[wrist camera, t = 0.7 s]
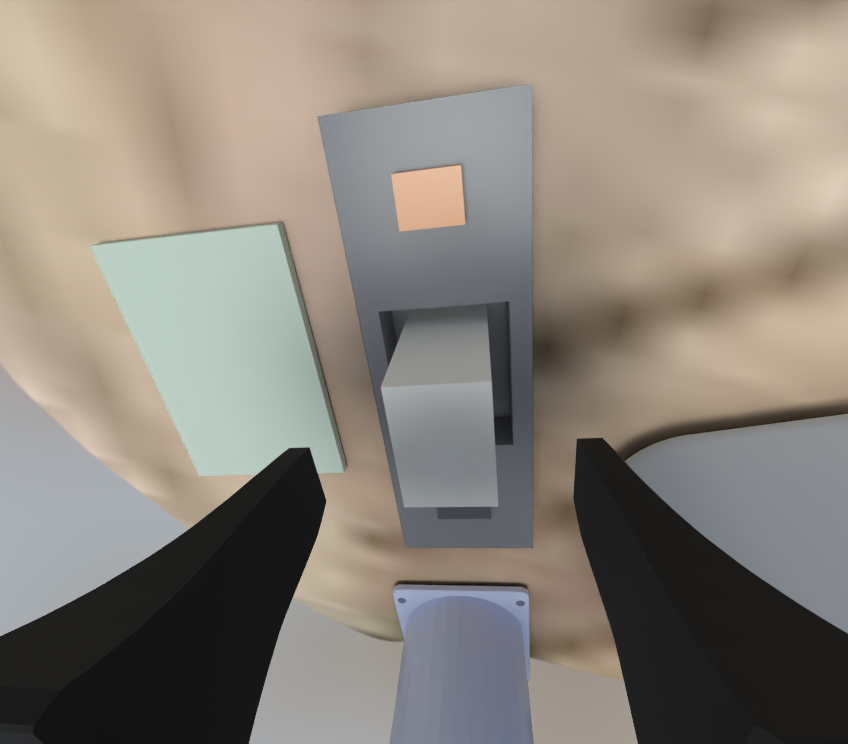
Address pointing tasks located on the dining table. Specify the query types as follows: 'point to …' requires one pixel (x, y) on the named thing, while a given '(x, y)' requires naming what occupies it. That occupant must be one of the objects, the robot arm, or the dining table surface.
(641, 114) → the dining table surface
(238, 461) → the rubber mat
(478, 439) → the white rectangular block
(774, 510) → the plastic bottle
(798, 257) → the dining table surface
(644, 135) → the dining table surface
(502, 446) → the grey slotted plate
